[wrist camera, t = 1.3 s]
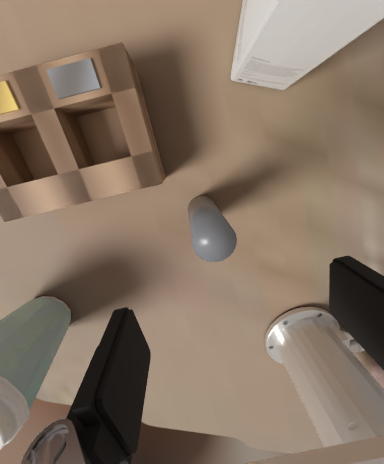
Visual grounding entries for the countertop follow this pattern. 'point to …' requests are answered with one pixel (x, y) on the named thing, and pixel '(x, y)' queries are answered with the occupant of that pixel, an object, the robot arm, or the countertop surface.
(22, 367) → the disposable coffee cup
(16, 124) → the socket block
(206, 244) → the peg
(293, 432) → the countertop surface
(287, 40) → the skincare box
